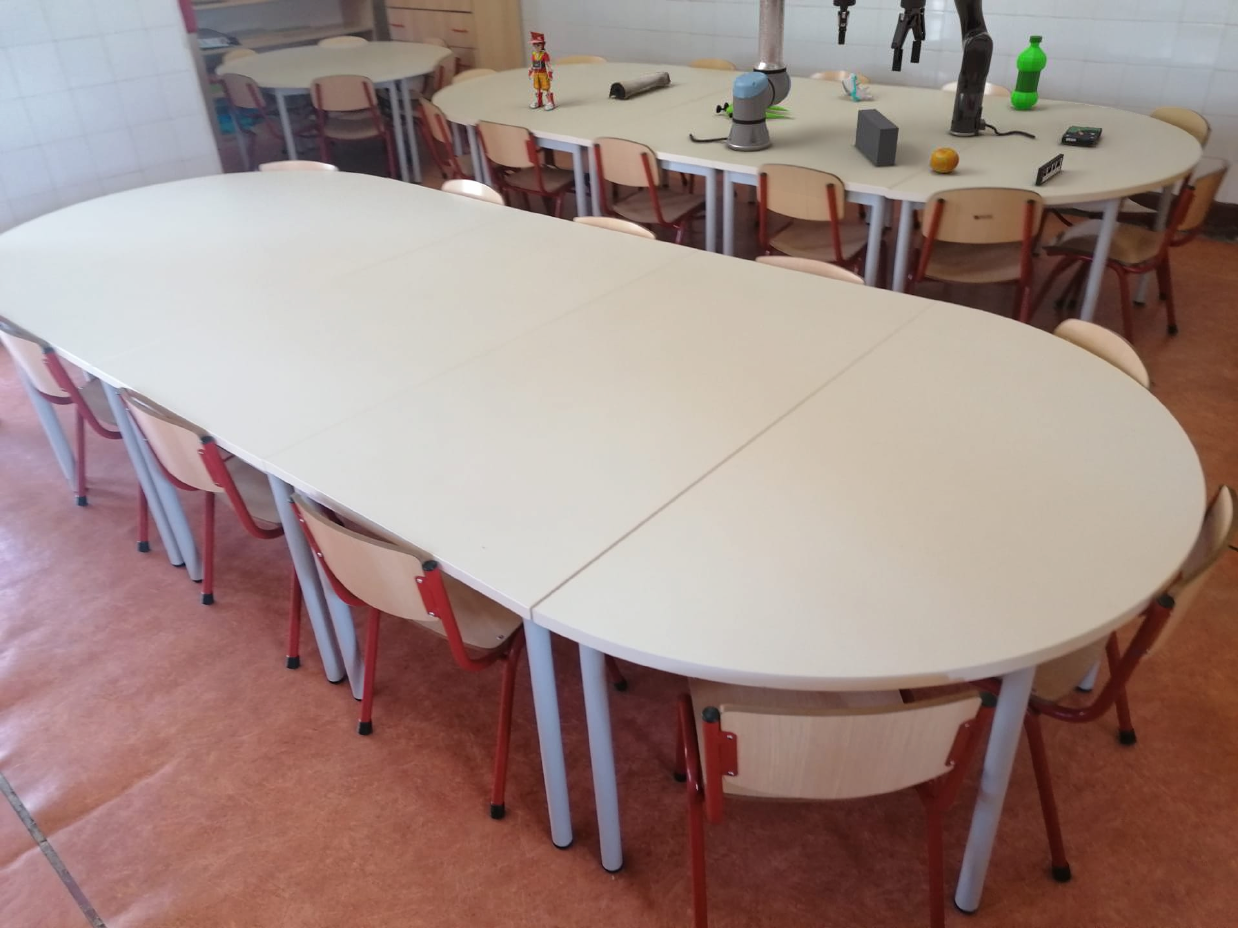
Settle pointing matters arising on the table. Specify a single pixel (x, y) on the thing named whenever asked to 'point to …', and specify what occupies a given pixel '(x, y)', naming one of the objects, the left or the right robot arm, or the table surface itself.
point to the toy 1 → (541, 71)
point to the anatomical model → (855, 88)
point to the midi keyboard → (1049, 169)
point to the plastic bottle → (1028, 75)
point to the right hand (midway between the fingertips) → (841, 42)
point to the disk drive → (1081, 136)
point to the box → (876, 137)
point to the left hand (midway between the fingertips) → (905, 67)
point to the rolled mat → (638, 84)
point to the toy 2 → (768, 115)
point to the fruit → (944, 160)
